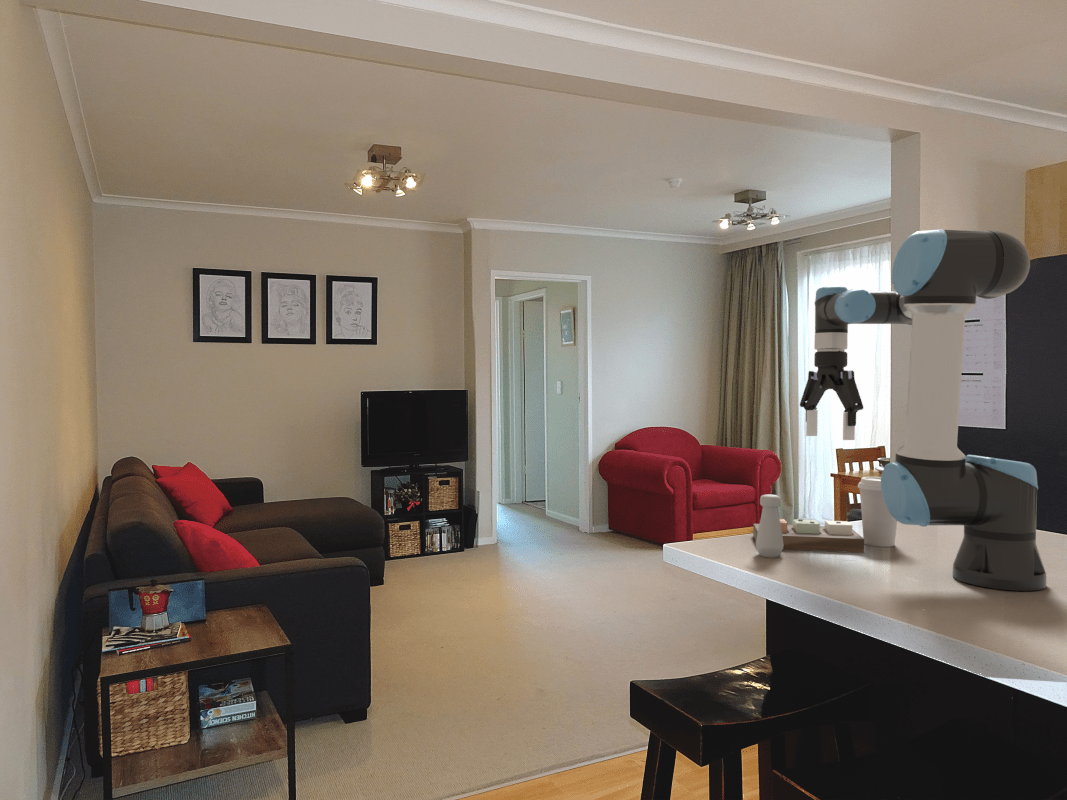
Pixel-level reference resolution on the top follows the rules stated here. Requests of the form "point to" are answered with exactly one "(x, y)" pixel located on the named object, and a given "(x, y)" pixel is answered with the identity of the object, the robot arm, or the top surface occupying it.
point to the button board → (819, 540)
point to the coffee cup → (876, 514)
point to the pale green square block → (806, 526)
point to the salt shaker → (769, 528)
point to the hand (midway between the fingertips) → (829, 438)
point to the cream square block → (838, 528)
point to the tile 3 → (783, 525)
